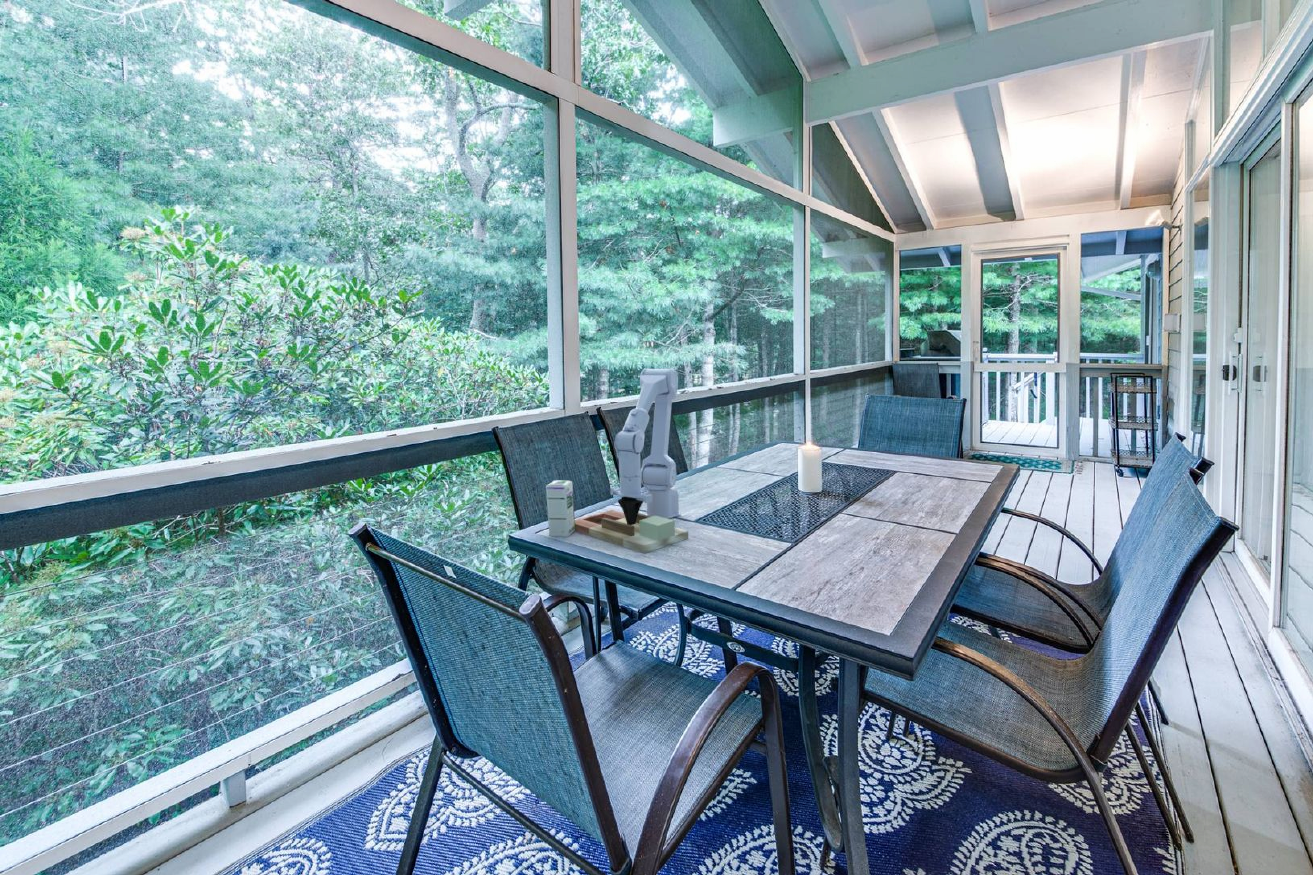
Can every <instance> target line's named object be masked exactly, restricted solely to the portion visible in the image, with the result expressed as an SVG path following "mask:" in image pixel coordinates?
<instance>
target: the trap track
mask: <svg viewBox="0 0 1313 875" xmlns="http://www.w3.org/2000/svg"><path fill="white" fill-rule="evenodd" d="M644 514H645V513H641V512H638V516H637V520H636V524H634V525H629V524H627V522H626V518H625V515H624V512H620V511H617V510H613V509H611V510H608V511H603V512H600V513H596V514H593V515H589V516H586V517H581V518H578V519H575V531H574V532H579V533H581V534H585V535H587V536H591V537H594V538H596V539H600V540H603V541H605V540H606V542H609V543H611V544H615V545H619V546H621V547H624V548H626V549H627V548H628V549H630V550H634V551H636V552H638V553H642V554H647V552H648V553H650V552H653V551H656V550H658V549H662V548H665V547H667V546H670V545H673V544H675V543H678V542H682V541H684V540H687V539H689V530H686V529H682V528H678V527H675V535H674V536H671V537H669V538H666V539H663V540H660V541H657V540H654V539H651V538H647V537H644V536H641V535H640V531H639V520H642V519H646V518H649V517H652V516H648V515H644Z"/></svg>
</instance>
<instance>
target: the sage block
mask: <svg viewBox="0 0 1313 875" xmlns="http://www.w3.org/2000/svg"><path fill="white" fill-rule="evenodd" d="M675 522H676V521H675V520H674V519H672V518H669V519H667V518H663V517H659V516H652V517H649V518H646V519H642V520H639V531H640V535H641V536H644V537H647V538H651V539H654V540H657V541H660V540H663V539H666V538H669V537H671V536H674V535H675V528H676V524H675Z"/></svg>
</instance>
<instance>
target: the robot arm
mask: <svg viewBox="0 0 1313 875" xmlns="http://www.w3.org/2000/svg"><path fill="white" fill-rule="evenodd" d="M678 384H679V378H678V374H677V371H676V370H675V369H674V368H647V367H646V368H643V369H642V371H641V372H640V376H639V385H640V389H641V390H640V392H639V396H638V400H637V403H636V406H635V408H633V409H631V410H630V411H629V414H628V416H627V418H626V420H625V423H624V426H623V428H622V430H620V431H619V432H617V433H616V435H615V436H614V437H615V438H614V443H613V445H614V446H613V447H614V450H615V453H616V458H617V459H618V466H619V468H618V471H619V472H618V473H619V486H613V487H609V488H610V489H609V491H610V495H611V496H617V497H619V498H620V499H618V500H617V503H618V504H619V506H620V508H621V509H622V513H624V515H625V518H626V522H627V524H629V525H634V524H636V520H637V516H638V513H640V510H641V507H642V505H643V504H644V503H645V504H646V513H643V514H644V515H648V516H659V517H663V518H667V519H672V518H676V517H678V516H681V513H680V512H679V511H680V510H679V509H680V508H679V505H680V503H679V500H680V499H679V491H678V490H677V487H676V486H675V484H676V482H677V477H678V476H677V464H676V463H677V462H675V460H674V459H672V458H671V457H670V456H669V455H668V451H669V441H670V428H671V417H672V404H673V400H674V399H676V398H677V396H678V395H677V394H678V388H679V387H678ZM653 403H654V412H653V422H652V423H653V426H652V434H651V436H652V438H651V446H650V455H648V456H647V457H645V458H644V459H642V464H641V453H642V451H643V449H644V445H645V438H646V437H645V436H646V435H645V432H646V429H647V426H648V424H649V421H650V418H651V417H650V415H649V411H650V409H651V407H652V406H653ZM664 465H665V466H664ZM642 485H643V488H644V489H646V491H643V490H642Z"/></svg>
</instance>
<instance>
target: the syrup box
mask: <svg viewBox="0 0 1313 875" xmlns="http://www.w3.org/2000/svg"><path fill="white" fill-rule="evenodd" d="M573 485H574V484H573V481H572V480H567V479H563V480H562V479H561V480H560V479H559V480H552V482H550V483H549V484H546V485H545V491H546V493H545V494H546V502H547V503H546V506H547V520H548V521H547V522H548V535H549V536H550V537H569V536H571V535H572V534H573V533H574V532H576V531H575V520H576V519H575V505H574V489H573V488H574V487H573Z"/></svg>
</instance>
